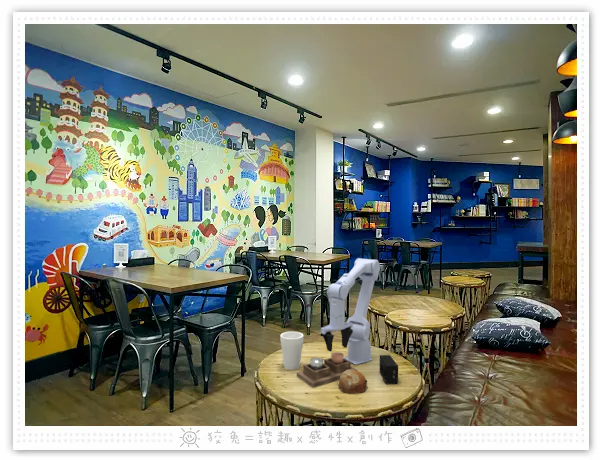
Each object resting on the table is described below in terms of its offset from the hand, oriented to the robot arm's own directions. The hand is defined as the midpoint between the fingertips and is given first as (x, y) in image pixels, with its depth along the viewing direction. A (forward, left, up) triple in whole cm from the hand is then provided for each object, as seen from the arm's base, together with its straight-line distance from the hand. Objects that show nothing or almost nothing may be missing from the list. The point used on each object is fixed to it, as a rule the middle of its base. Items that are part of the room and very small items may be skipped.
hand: (337, 348), depth 139 cm
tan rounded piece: (0, 0, -5) cm, 5 cm away
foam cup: (+12, -14, -10) cm, 21 cm away
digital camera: (-13, +14, -10) cm, 21 cm away
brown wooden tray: (+5, 0, -9) cm, 11 cm away
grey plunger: (+10, 0, -5) cm, 11 cm away
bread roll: (+3, +13, -10) cm, 16 cm away
